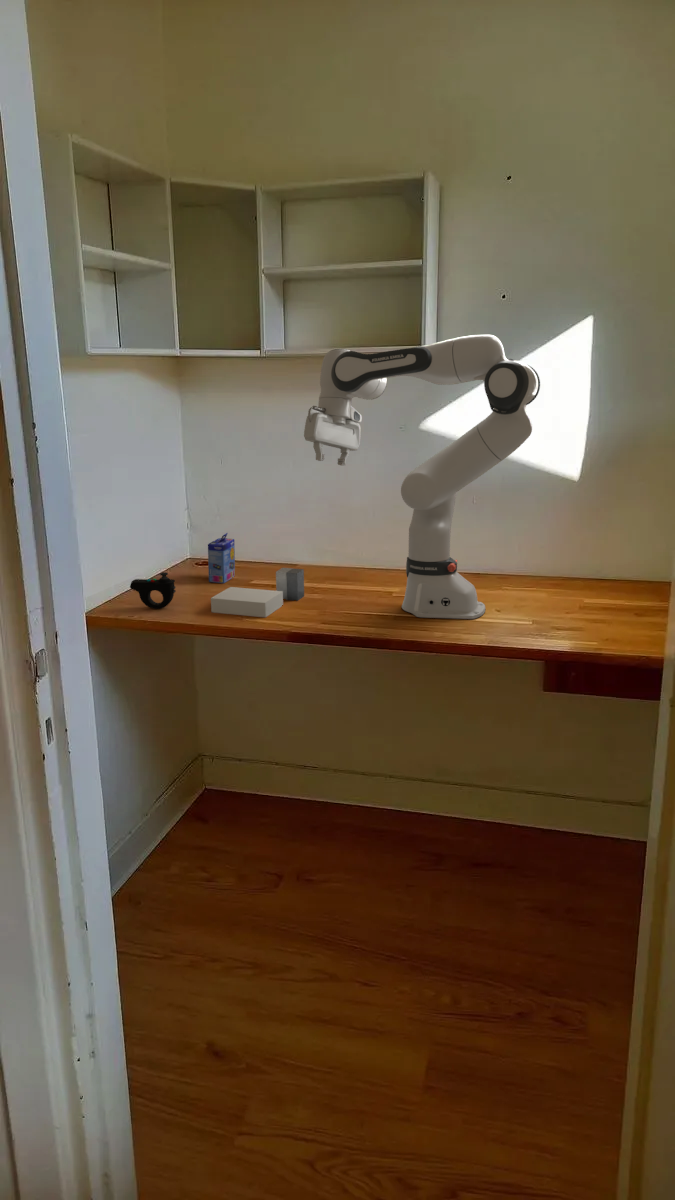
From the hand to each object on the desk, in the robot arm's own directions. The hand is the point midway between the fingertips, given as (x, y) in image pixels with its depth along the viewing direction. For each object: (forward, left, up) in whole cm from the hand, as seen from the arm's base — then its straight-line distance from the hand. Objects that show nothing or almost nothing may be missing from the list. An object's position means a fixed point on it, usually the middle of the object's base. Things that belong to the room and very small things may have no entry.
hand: (330, 462), depth 228 cm
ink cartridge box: (+40, -12, -39) cm, 57 cm away
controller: (+45, +22, -39) cm, 63 cm away
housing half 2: (+11, +1, -39) cm, 40 cm away
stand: (+19, +15, -39) cm, 46 cm away
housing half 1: (+14, +1, -39) cm, 41 cm away
